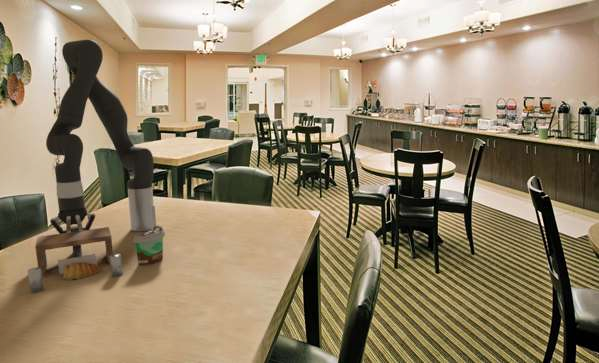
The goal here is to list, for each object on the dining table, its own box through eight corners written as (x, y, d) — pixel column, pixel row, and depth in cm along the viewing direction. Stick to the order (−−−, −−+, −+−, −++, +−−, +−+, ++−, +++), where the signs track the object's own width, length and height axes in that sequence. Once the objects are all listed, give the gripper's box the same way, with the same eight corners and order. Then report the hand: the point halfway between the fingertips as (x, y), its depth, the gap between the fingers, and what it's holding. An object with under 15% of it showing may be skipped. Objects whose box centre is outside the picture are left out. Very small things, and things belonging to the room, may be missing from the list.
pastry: (98, 268, 124) (97, 256, 123) (100, 276, 118) (98, 264, 118) (63, 274, 120) (62, 262, 119) (63, 283, 114) (62, 270, 113)
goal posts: (121, 271, 121) (120, 253, 119) (123, 275, 118) (121, 256, 117) (31, 289, 110) (28, 268, 108) (30, 293, 107) (27, 272, 106)
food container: (153, 268, 123) (151, 237, 121) (135, 267, 124) (132, 236, 122) (173, 254, 135) (171, 225, 133) (157, 252, 136) (154, 224, 134)
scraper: (93, 247, 139) (91, 223, 137) (96, 267, 124) (93, 240, 122) (60, 253, 135) (57, 228, 133) (59, 274, 119) (55, 246, 117)
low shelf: (111, 253, 135) (108, 227, 133) (114, 263, 127) (111, 235, 125) (41, 265, 126) (37, 236, 124) (39, 277, 117) (35, 246, 115)
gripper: (93, 190, 137) (98, 238, 141) (46, 194, 131) (52, 244, 134) (94, 194, 131) (100, 244, 134) (45, 199, 124) (51, 252, 128)
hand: (76, 244), depth 134 cm, fingers closed on scraper, 2 cm apart
